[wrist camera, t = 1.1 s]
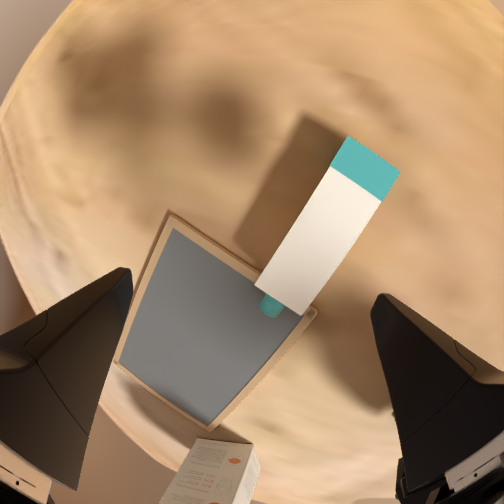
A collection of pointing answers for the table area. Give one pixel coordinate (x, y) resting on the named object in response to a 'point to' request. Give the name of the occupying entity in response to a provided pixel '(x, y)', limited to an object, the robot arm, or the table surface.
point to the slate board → (202, 327)
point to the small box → (215, 474)
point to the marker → (325, 228)
